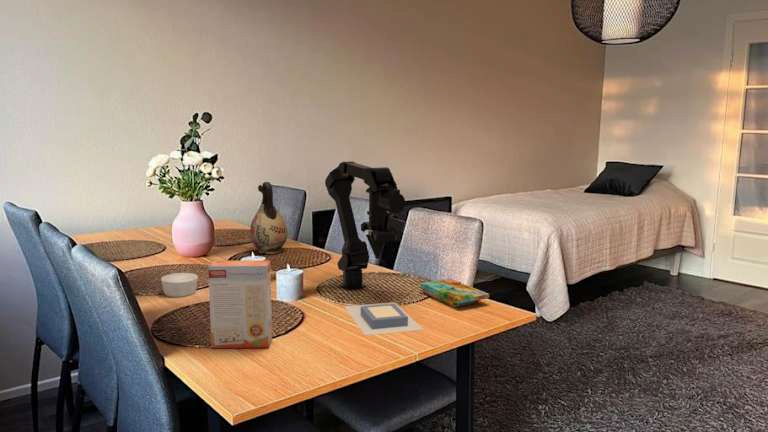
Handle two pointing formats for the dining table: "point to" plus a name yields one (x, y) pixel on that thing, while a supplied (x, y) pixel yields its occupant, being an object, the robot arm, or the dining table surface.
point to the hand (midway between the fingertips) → (377, 258)
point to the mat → (367, 330)
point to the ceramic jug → (268, 224)
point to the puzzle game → (452, 292)
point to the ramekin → (179, 284)
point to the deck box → (384, 316)
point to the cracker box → (240, 304)
